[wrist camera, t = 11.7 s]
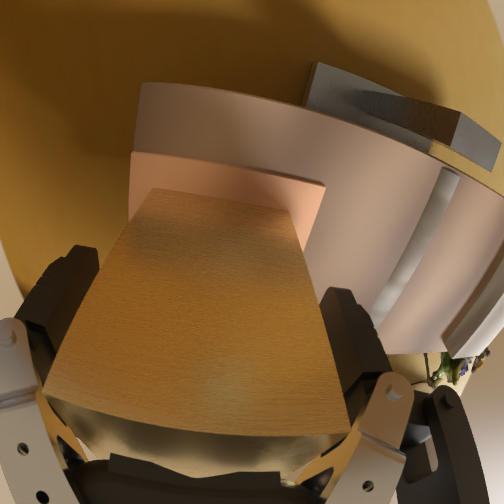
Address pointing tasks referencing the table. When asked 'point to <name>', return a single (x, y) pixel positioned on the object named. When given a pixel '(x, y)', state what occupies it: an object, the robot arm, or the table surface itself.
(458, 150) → the pivot stand
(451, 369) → the passion flower
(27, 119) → the table surface
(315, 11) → the table surface
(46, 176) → the table surface
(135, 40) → the table surface
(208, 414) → the beige rectangular block
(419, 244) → the beam
